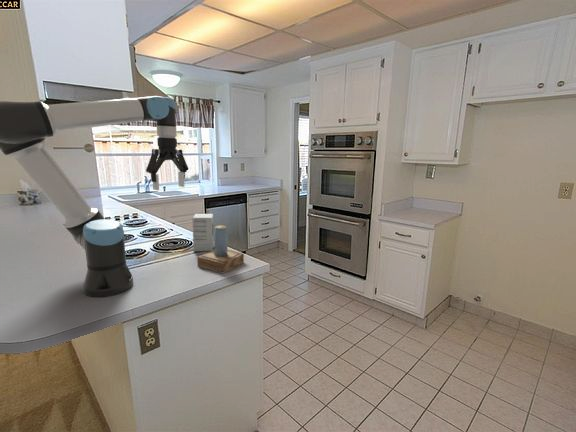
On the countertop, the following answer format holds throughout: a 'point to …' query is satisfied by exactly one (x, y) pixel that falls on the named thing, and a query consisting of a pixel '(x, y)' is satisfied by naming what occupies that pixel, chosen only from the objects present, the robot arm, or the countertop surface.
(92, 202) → the countertop surface
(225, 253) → the canister
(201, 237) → the supplement box
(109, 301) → the countertop surface
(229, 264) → the walnut base
